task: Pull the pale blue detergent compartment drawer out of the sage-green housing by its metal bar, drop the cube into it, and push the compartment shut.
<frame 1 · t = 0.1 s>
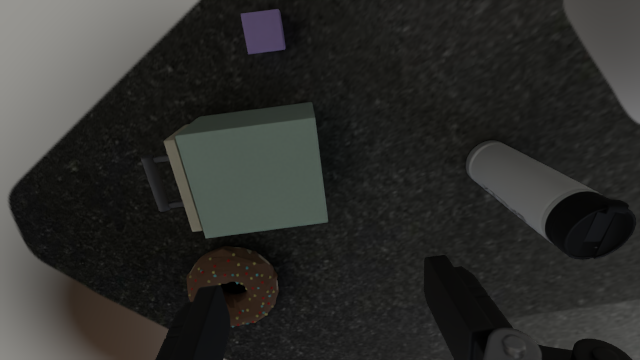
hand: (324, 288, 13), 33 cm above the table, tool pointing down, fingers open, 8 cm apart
cabinet: (264, 155, 45), on the table
travel mug: (486, 159, 47), on the table
donut: (236, 273, 53), on the table
drawer: (225, 172, 41), point 5 cm above the table, slide at 0.5 cm
cube: (266, 32, 39), on the table
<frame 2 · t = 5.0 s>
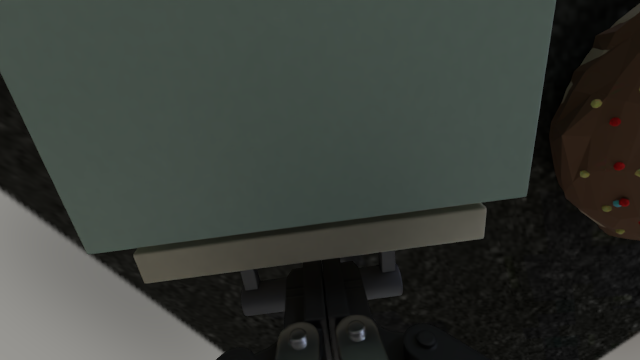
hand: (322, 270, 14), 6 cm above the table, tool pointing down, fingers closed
drawer: (296, 103, 13), point 5 cm above the table, slide at 0.7 cm, touching gripper
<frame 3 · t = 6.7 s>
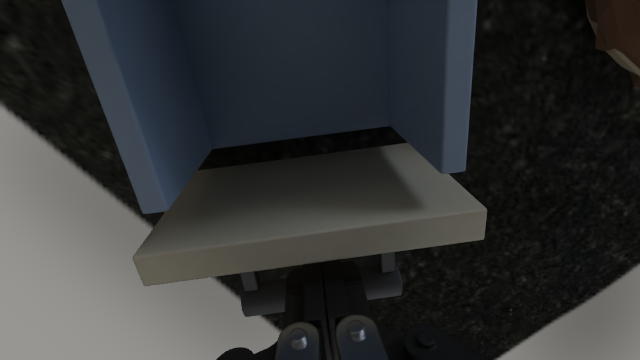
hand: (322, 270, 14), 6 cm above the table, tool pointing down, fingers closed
drawer: (295, 103, 12), point 5 cm above the table, slide at 8.8 cm, touching gripper
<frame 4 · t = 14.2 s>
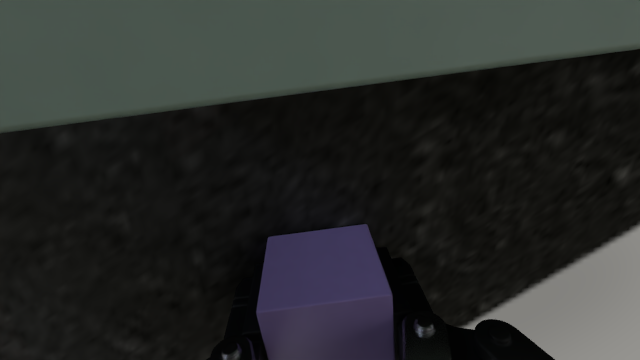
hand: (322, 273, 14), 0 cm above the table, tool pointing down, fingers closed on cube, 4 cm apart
cube: (323, 270, 14), on the table, touching gripper
when the fingers open (6 cm above the table, at t = 22.8 s): cube drops 4 cm, resting on drawer.
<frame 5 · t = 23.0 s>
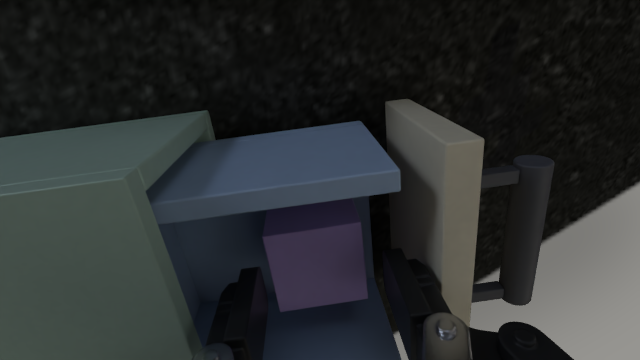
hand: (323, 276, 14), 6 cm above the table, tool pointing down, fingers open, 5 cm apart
cabinet: (111, 233, 19), on the table
drawer: (336, 248, 15), point 5 cm above the table, slide at 8.9 cm, touching gripper, cube
cube: (313, 222, 18), point 2 cm above the table, touching drawer
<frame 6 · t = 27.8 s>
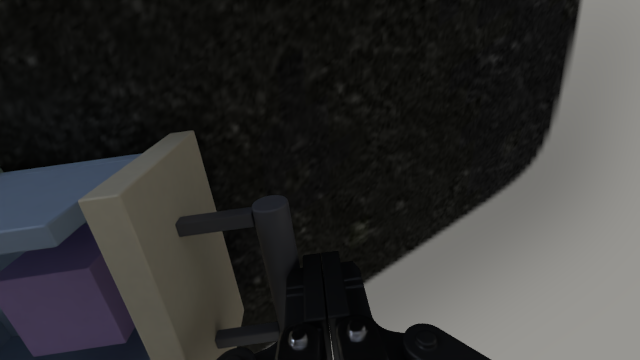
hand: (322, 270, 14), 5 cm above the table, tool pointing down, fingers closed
drawer: (102, 288, 15), point 5 cm above the table, slide at 9.1 cm, touching gripper, cube
cube: (110, 256, 17), point 2 cm above the table, touching drawer
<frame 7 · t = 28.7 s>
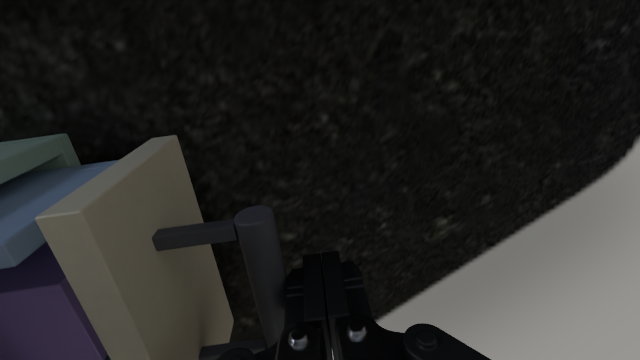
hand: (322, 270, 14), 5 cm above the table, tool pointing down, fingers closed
drawer: (79, 303, 14), point 5 cm above the table, slide at 4.1 cm, touching gripper, cube
cube: (90, 266, 16), point 2 cm above the table, touching drawer
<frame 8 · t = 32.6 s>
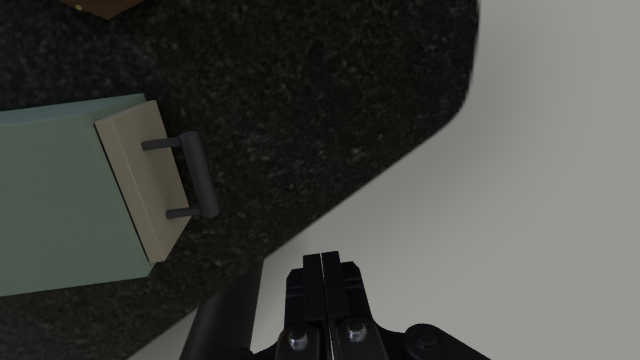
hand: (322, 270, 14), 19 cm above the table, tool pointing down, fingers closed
cabinet: (89, 170, 31), on the table
drawer: (104, 184, 27), point 5 cm above the table, slide at 0.0 cm, touching cabinet, cube
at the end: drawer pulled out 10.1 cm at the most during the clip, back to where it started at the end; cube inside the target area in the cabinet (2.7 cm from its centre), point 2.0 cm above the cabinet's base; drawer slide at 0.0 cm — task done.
